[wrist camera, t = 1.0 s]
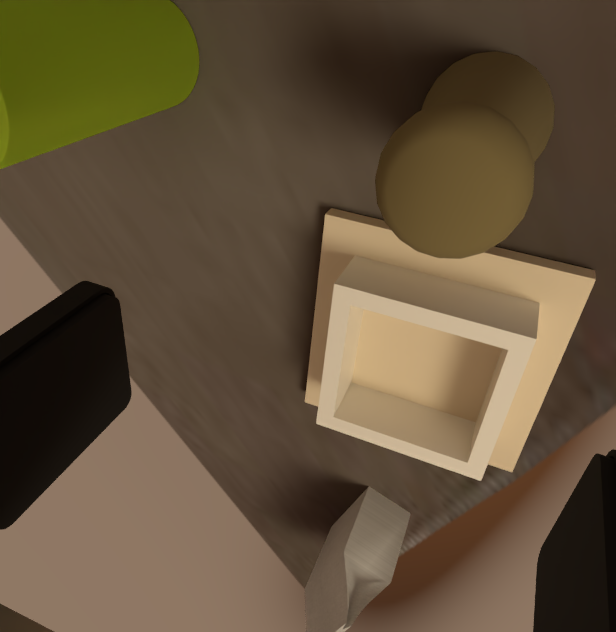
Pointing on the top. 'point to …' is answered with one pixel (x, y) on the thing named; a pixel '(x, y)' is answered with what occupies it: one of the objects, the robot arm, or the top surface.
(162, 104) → the soap dispenser
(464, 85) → the cork
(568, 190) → the top surface
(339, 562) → the white carton
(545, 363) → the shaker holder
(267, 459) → the top surface
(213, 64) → the top surface
